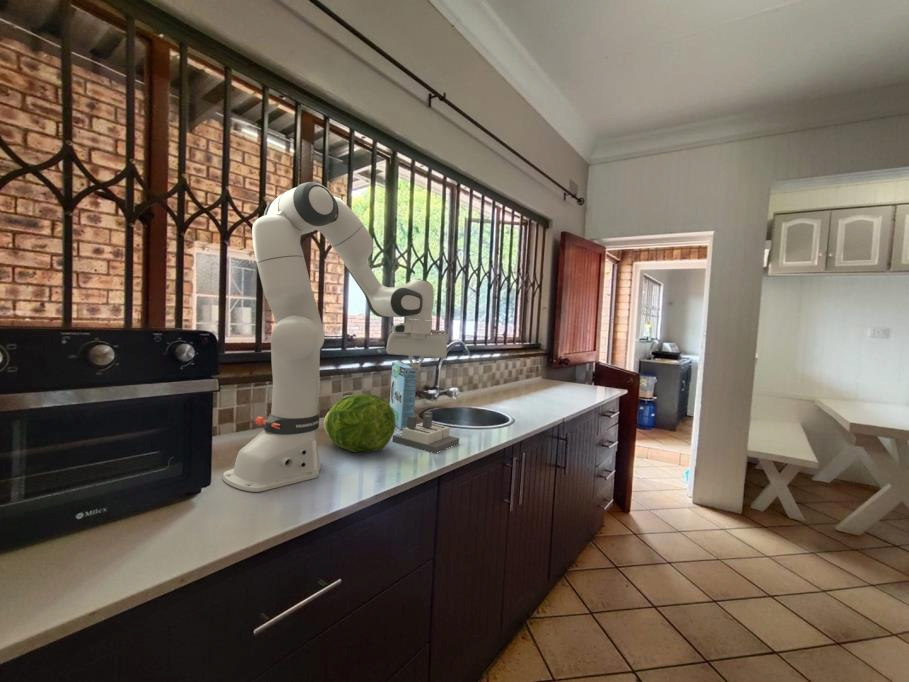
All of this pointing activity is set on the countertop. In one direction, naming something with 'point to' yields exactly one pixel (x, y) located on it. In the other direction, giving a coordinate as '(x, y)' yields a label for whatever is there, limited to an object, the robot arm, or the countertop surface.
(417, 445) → the breaker panel
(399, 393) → the gum box
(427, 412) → the breaker
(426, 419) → the block
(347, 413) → the lettuce
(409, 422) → the breaker
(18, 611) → the countertop surface
